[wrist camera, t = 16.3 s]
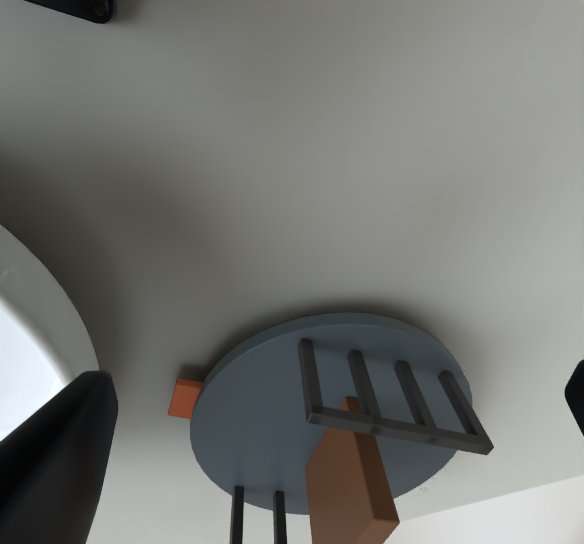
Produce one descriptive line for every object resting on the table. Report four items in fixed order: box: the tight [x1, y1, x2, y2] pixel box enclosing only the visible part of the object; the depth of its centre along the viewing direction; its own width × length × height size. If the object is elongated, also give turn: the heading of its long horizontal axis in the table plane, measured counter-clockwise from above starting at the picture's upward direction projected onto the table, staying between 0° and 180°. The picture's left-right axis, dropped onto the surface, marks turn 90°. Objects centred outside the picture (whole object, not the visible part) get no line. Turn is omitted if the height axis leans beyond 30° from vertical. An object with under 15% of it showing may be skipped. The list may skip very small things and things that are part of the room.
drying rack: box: [168, 312, 494, 544], centre depth 21 cm, size 17×16×7 cm
